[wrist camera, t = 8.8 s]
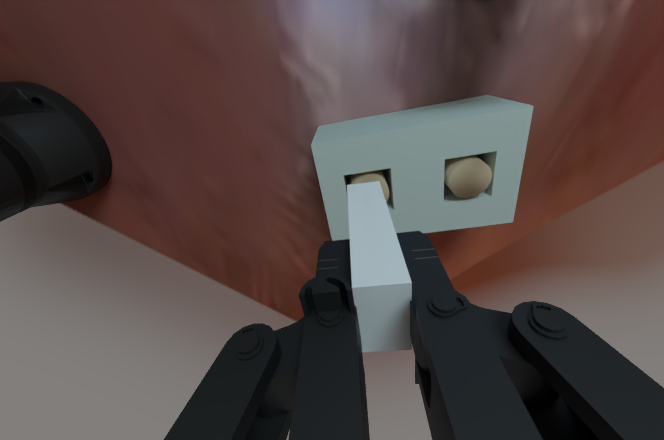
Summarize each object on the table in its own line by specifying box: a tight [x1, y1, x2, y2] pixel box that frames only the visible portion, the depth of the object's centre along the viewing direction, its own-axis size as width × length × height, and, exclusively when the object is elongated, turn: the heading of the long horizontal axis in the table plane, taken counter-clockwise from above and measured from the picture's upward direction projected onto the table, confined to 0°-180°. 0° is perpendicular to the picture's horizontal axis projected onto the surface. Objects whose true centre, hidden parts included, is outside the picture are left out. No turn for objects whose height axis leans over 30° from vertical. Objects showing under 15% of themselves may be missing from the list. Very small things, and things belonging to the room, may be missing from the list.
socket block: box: [311, 95, 533, 241], centre depth 32 cm, size 20×12×9 cm, turn 100°
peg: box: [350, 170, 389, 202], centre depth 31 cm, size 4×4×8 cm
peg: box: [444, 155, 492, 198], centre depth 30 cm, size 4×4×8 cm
